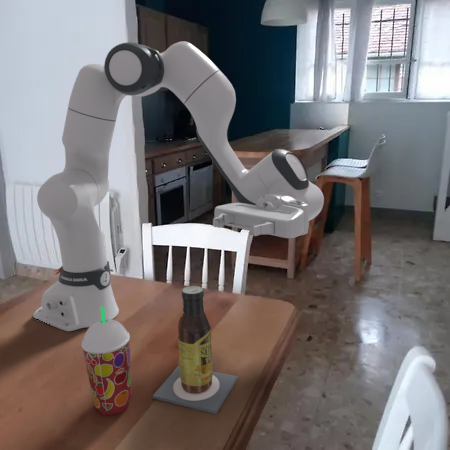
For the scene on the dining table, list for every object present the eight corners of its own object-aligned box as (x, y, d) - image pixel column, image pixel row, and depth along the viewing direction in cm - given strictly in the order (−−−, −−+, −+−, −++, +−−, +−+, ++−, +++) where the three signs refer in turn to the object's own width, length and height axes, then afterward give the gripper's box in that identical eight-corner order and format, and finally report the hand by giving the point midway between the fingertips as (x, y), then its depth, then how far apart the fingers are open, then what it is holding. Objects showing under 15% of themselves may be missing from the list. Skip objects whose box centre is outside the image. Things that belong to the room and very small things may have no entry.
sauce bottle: (208, 397, 83) (204, 298, 77) (176, 393, 84) (170, 296, 79) (216, 376, 89) (212, 284, 84) (186, 373, 90) (181, 282, 85)
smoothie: (95, 392, 86) (83, 298, 81) (138, 389, 87) (129, 295, 81) (85, 422, 78) (71, 319, 73) (133, 418, 79) (123, 316, 73)
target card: (153, 398, 84) (152, 395, 84) (180, 366, 94) (179, 363, 94) (216, 414, 79) (216, 410, 79) (237, 379, 89) (237, 376, 89)
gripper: (238, 193, 103) (195, 204, 93) (315, 205, 89) (274, 219, 80) (238, 219, 104) (196, 233, 95) (314, 235, 91) (274, 252, 81)
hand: (233, 227), depth 87 cm, fingers open, 8 cm apart
